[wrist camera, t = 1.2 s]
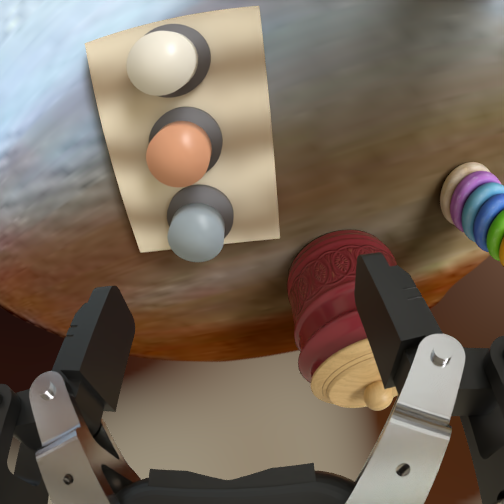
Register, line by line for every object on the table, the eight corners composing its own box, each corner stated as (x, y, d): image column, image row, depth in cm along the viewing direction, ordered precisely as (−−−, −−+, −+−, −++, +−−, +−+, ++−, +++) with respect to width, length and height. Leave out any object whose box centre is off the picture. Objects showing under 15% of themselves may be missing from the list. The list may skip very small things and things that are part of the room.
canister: (410, 258, 36) (473, 378, 22) (341, 323, 43) (371, 441, 29) (335, 205, 32) (397, 346, 18) (263, 287, 38) (273, 428, 24)
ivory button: (131, 40, 18) (121, 40, 17) (193, 26, 18) (189, 24, 16) (141, 97, 21) (132, 102, 19) (202, 85, 21) (198, 89, 19)
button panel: (96, 42, 21) (80, 43, 19) (257, 9, 21) (259, 4, 18) (146, 238, 34) (138, 257, 31) (277, 224, 33) (280, 243, 31)
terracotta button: (147, 126, 22) (139, 133, 21) (207, 116, 22) (203, 122, 20) (159, 180, 25) (154, 191, 23) (215, 172, 25) (214, 183, 23)
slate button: (166, 206, 26) (161, 218, 25) (220, 199, 26) (218, 211, 25) (178, 250, 29) (174, 264, 28) (228, 245, 29) (227, 259, 27)
